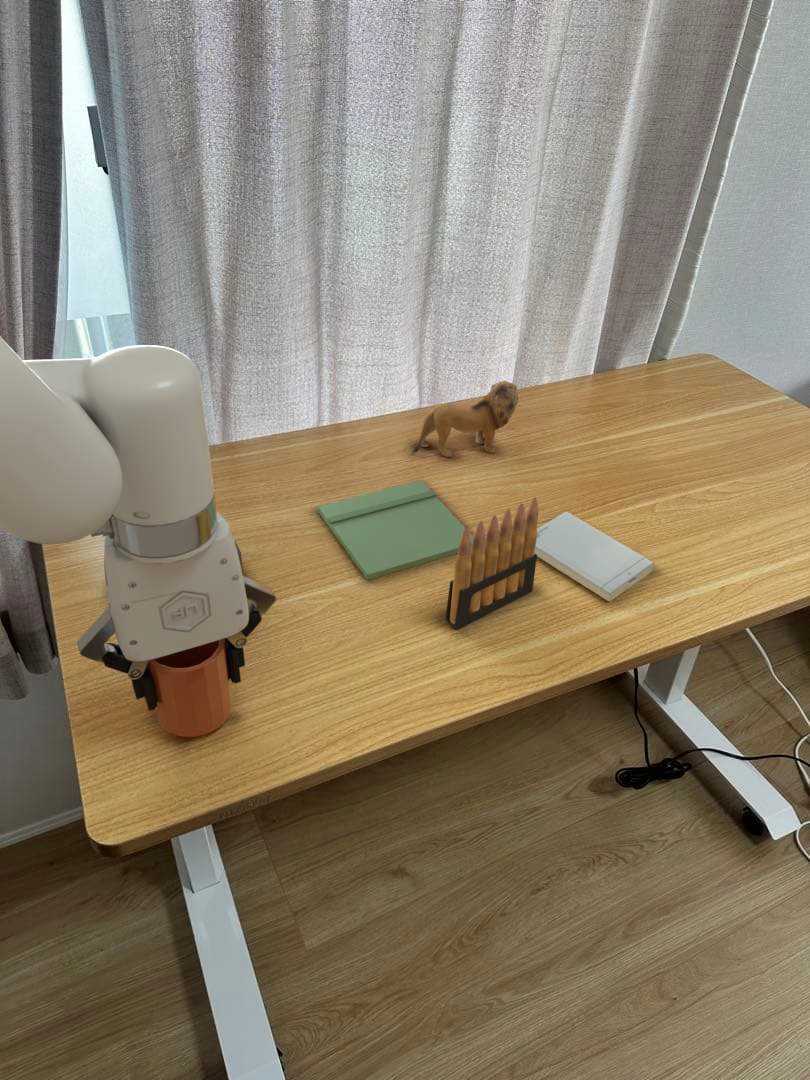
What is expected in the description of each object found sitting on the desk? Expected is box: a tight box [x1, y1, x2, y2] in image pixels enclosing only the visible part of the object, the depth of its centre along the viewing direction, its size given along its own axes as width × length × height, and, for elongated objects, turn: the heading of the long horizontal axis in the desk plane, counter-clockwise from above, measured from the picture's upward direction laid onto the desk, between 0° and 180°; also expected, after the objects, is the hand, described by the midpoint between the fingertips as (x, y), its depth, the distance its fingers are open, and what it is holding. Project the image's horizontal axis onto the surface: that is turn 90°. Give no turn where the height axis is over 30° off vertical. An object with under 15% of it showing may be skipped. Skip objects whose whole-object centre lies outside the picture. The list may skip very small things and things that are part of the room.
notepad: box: [317, 479, 474, 581], centre depth 94 cm, size 14×14×1 cm
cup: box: [147, 638, 233, 738], centre depth 69 cm, size 6×6×8 cm
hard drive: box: [534, 511, 656, 602], centre depth 91 cm, size 2×8×12 cm
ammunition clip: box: [444, 497, 539, 630], centre depth 81 cm, size 11×2×12 cm, turn 127°
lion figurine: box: [411, 380, 519, 458], centre depth 107 cm, size 15×5×9 cm, turn 110°
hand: (191, 683), depth 70 cm, fingers closed on cup, 6 cm apart
